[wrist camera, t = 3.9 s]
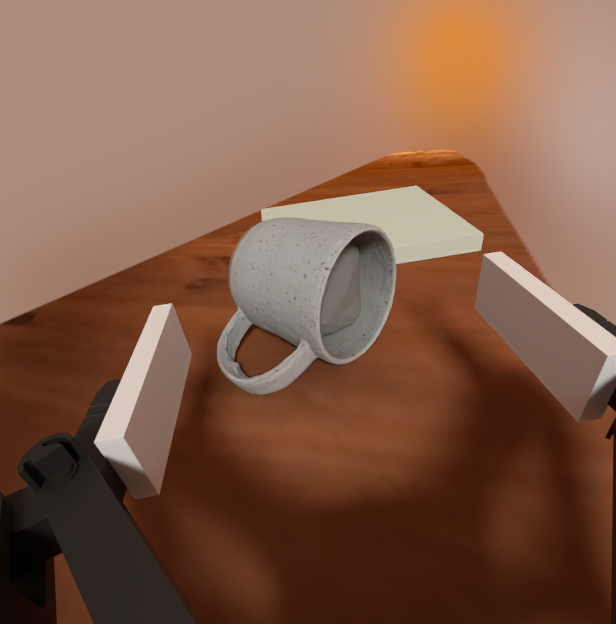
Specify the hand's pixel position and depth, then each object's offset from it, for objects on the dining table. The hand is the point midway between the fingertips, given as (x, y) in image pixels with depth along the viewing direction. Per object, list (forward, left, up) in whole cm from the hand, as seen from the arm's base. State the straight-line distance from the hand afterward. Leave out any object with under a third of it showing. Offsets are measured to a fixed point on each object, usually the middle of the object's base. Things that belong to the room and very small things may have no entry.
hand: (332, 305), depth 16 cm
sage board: (+6, +21, -6) cm, 22 cm away
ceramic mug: (-1, +5, -6) cm, 8 cm away
